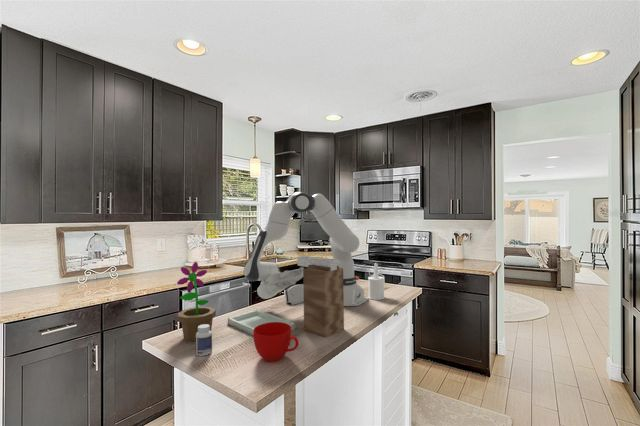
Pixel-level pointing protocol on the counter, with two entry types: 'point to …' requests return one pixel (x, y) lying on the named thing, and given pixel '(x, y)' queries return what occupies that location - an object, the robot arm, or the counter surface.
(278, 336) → the ceramic cup
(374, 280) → the white soap dispenser
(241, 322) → the tray
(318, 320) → the ridged wooden post
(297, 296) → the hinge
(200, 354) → the pill bottle
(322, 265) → the block
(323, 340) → the counter surface
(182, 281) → the flowerpot
